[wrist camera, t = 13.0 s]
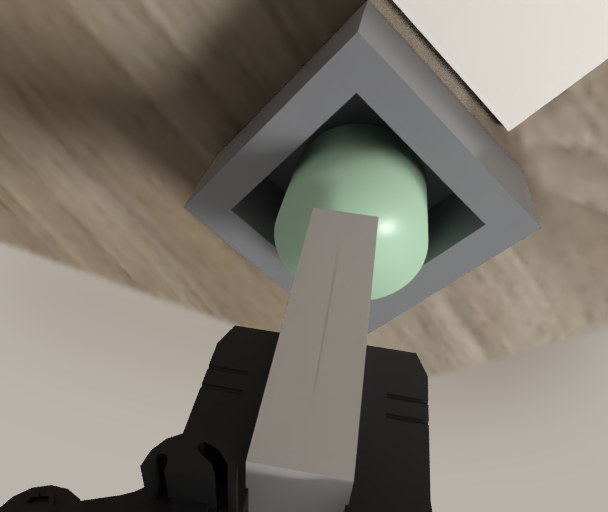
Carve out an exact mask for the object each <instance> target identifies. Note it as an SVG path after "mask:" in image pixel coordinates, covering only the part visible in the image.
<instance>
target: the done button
mask: <svg viewBox="0 0 608 512" xmlns="http://www.w3.org/2000/svg"><path fill="white" fill-rule="evenodd" d="M313 208H320V209H327V210H334V211H341V212H348V213H355V214H362V215H369V216H376V217H378V228H377V239H376V249H375V260H374V271H373V281H372V292H371V300H374V299H378V298H382V297H385V296H388V295H390V294H392V293H394V292H396V291H398V290H400V289H401V288H403V287H404V286H405V285H407V284H408V283H409V282H410V281H411V280H412V279H413V278H414V277H415V276H416V275H417V273H418V272H419V271H420V269H421V267H422V265H423V263H424V261H425V258H426V255H427V250H428V210H427V179H426V173H425V169H424V166H423V163H422V161H421V159H420V157H419V156H418V155H417V154H416V153H415V152H414V151H413V150H412V149H411V148H410V147H409V146H408V145H407V144H406V143H405V142H404V141H403V140H402V139H401V138H400V137H399V136H398V135H397V134H395V133H394V132H392V131H390V130H387V129H385V128H382V127H379V126H374V125H370V124H348V125H342V126H338V127H335V128H332V129H330V130H328V131H325V132H324V133H322V134H320V135H319V136H317V137H316V138H315V139H314V140H312V141H311V142H310V143H309V144H308V145H307V146H306V148H305V149H304V151H303V152H302V153H301V155H300V157H299V159H298V162H297V164H296V167H295V170H294V172H293V175H292V178H291V180H290V183H289V186H288V189H287V191H286V194H285V197H284V199H283V202H282V205H281V207H280V210H279V213H278V216H277V219H276V222H275V228H274V239H275V246H276V249H277V252H278V255H279V257H280V259H281V261H282V263H283V264H284V266H285V267H286V269H287V270H288V271H289V272H290V274H291V275H292V276H293V277H294V278H295V275H296V271H297V267H298V263H299V260H300V256H301V252H302V248H303V245H304V241H305V237H306V233H307V230H308V226H309V222H310V218H311V214H312V211H313Z"/></svg>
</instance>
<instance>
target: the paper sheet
mask: <svg viewBox="0 0 608 512" xmlns="http://www.w3.org/2000/svg"><path fill="white" fill-rule="evenodd" d="M393 1H394V2H395V4H396V5H397V6H398V7H399V8H400V9H401V10H402V12H403V13H404V14H405V15H406V16H407V17H408V18H409V19H410V21H411V22H412V23H413V24H414V25H415V26H416V27H417V28H418V30H419V31H420V32H421V33H422V34H423V35H424V36H425V37H426V39H427V40H428V41H429V42H430V43H431V44H432V45H433V47H434V48H435V49H436V50H437V51H438V52H439V53H440V54H441V56H442V57H443V58H444V59H445V60H446V61H447V62H448V63H449V65H450V66H451V67H452V68H453V69H454V70H455V71H456V72H457V74H458V75H459V76H460V77H461V78H462V79H463V80H464V81H465V83H466V84H467V85H468V86H469V87H470V88H471V89H472V91H473V92H474V93H475V94H476V95H477V96H478V97H479V98H480V100H481V101H482V102H483V103H484V104H485V105H486V106H487V107H488V109H489V110H490V111H491V112H492V113H493V114H494V115H495V116H496V118H497V119H498V120H499V121H500V122H501V123H502V124H503V126H504V127H505V128H506V129H507V130H508V131H510V130H511V129H513V128H514V127H515V126H517V125H518V124H520V123H521V122H522V121H524V120H525V119H526V118H528V117H529V116H530V115H532V114H533V113H534V112H536V111H537V110H539V109H540V108H541V107H543V106H544V105H545V104H547V103H548V102H549V101H551V100H552V99H553V98H555V97H556V96H557V95H559V94H560V93H562V92H563V91H564V90H566V89H567V88H568V87H570V86H571V85H572V84H574V83H575V82H576V81H578V80H579V79H581V78H582V77H583V76H585V75H586V74H587V73H589V72H590V71H591V70H593V69H594V68H595V67H597V66H598V65H599V64H601V63H602V62H604V61H605V60H606V59H608V0H393Z"/></svg>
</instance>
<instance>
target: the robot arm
mask: <svg viewBox="0 0 608 512" xmlns="http://www.w3.org/2000/svg"><path fill="white" fill-rule="evenodd" d="M377 228H378V217H376V216H369V215H362V214H355V213H348V212H341V211H334V210H327V209H320V208H313V211H312V214H311V218H310V222H309V226H308V230H307V233H306V237H305V241H304V245H303V248H302V252H301V256H300V260H299V263H298V267H297V271H296V275H295V278H294V282H293V286H292V290H291V293H290V297H289V301H288V305H287V309H286V312H285V316H284V320H283V324H282V327H281V331H280V333H278V332H272V331H265V330H259V329H253V328H247V327H241V326H234V327H233V328H232V329H231V330H230V331H229V332H228V333H227V334H226V335H225V336H224V337H223V338H222V339H221V340H220V341H219V342H218V343H217V346H216V348H215V351H214V353H213V356H212V359H211V361H210V364H209V369H208V370H207V372H206V374H205V377H204V380H203V382H202V387H201V388H200V390H199V393H198V396H197V398H196V401H195V403H194V406H193V409H192V412H191V414H190V416H189V419H188V422H187V424H186V427H185V430H184V432H183V434H180V435H177V436H174V437H171V438H168V439H166V440H164V441H163V442H162V443H160V444H159V445H158V446H156V447H155V448H154V449H152V450H151V451H150V453H149V454H148V456H147V457H146V459H145V460H144V462H143V463H142V465H141V472H142V477H143V482H144V488H142V489H140V490H138V491H135V492H132V493H128V494H124V495H120V496H113V497H105V498H98V499H91V500H84V501H80V499H79V498H78V497H77V496H75V495H74V494H73V493H72V492H71V491H69V490H68V489H65V488H60V487H57V486H53V485H50V486H42V487H34V488H31V489H28V490H26V491H24V492H22V493H20V494H18V495H16V496H14V497H12V498H11V499H10V500H8V501H7V502H6V503H5V504H4V505H3V506H1V507H0V512H432V508H431V501H430V465H429V464H430V461H429V425H428V421H429V419H428V418H429V417H428V376H427V374H426V372H425V370H424V368H423V366H422V364H421V362H420V360H419V358H418V356H417V354H416V353H411V352H405V351H399V350H393V349H386V348H380V347H374V346H368V345H367V335H368V324H369V314H370V303H371V292H372V281H373V271H374V260H375V249H376V239H377Z"/></svg>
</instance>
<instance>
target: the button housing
mask: <svg viewBox="0 0 608 512" xmlns="http://www.w3.org/2000/svg"><path fill="white" fill-rule="evenodd" d="M348 124H370V125H374V126H379V127H382V128H385V129H387V130H390V131H392V132H394V133H395V134H397V135H398V136H399V137H400V138H401V139H402V140H403V141H404V142H405V143H406V144H407V145H408V146H409V147H410V148H411V149H412V150H413V151H414V152H415V153H416V154H417V155H418V156H419V157H420V159H421V161H422V163H423V166H424V169H425V173H426V179H427V210H428V250H427V255H426V258H425V261H424V263H423V265H422V267H421V269H420V271H419V272H418V273H417V275H416V276H415V277H414V278H413V279H412V280H411V281H410V282H409V283H408V284H407V285H405V286H404V287H403V288H401V289H400V290H398V291H396V292H394V293H392V294H390V295H388V296H385V297H382V298H378V299H374V300H371V303H370V314H369V324H368V334H369V333H370V332H372V331H373V330H375V329H377V328H378V327H380V326H382V325H383V324H385V323H387V322H388V321H390V320H391V319H393V318H395V317H396V316H398V315H400V314H401V313H403V312H404V311H406V310H408V309H409V308H411V307H413V306H414V305H416V304H418V303H419V302H421V301H422V300H424V299H426V298H427V297H429V296H431V295H432V294H434V293H435V292H437V291H439V290H440V289H442V288H444V287H445V286H447V285H448V284H450V283H452V282H453V281H455V280H457V279H458V278H460V277H462V276H463V275H465V274H466V273H468V272H470V271H471V270H473V269H475V268H476V267H478V266H479V265H481V264H483V263H484V262H486V261H488V260H489V259H491V258H492V257H494V256H496V255H497V254H499V253H501V252H502V251H504V250H506V249H507V248H509V247H510V246H512V245H514V244H515V243H517V242H519V241H520V240H522V239H523V238H525V237H527V236H528V235H530V234H532V233H533V232H535V231H536V230H538V229H540V228H541V227H540V223H539V220H538V217H537V214H536V211H535V207H534V204H533V201H532V198H531V195H530V191H529V188H528V185H527V182H526V179H525V176H524V172H523V170H522V169H521V168H520V167H519V166H518V165H517V164H516V163H515V162H514V160H513V159H512V158H511V157H510V156H509V155H508V154H507V153H506V152H505V150H504V149H503V148H502V147H501V146H500V145H499V144H498V143H497V142H496V140H495V139H494V138H493V137H492V136H491V135H490V134H489V133H488V132H487V131H486V129H485V128H484V127H483V126H482V125H481V124H480V123H479V122H478V121H477V119H476V118H475V117H474V116H473V115H472V114H471V113H470V112H469V111H468V109H467V108H466V107H465V106H464V105H463V104H462V103H461V102H460V101H459V100H458V98H457V97H456V96H455V95H454V94H453V93H452V92H451V91H450V90H449V88H448V87H447V86H446V85H445V84H444V83H443V82H442V81H441V80H440V78H439V77H438V76H437V75H436V74H435V73H434V72H433V71H432V70H431V69H430V67H429V66H428V65H427V64H426V63H425V62H424V61H423V60H422V59H421V57H420V56H419V55H418V54H417V53H416V52H415V51H414V50H413V49H412V47H411V46H410V45H409V44H408V43H407V42H406V41H405V40H404V39H403V38H402V36H401V35H400V34H399V33H398V32H397V31H396V30H395V29H394V28H393V26H392V25H391V24H390V23H389V22H388V21H387V20H386V19H385V18H384V17H383V15H382V14H381V13H380V12H379V11H378V10H377V9H376V8H375V7H374V5H373V4H372V3H371V2H370V1H369V0H367V1H366V2H365V3H364V4H363V5H362V6H361V7H360V8H359V9H358V10H357V11H356V12H355V13H354V14H353V15H352V16H351V17H350V18H349V19H348V20H347V21H346V22H345V23H344V24H343V25H342V26H341V28H340V29H339V30H338V31H337V32H336V33H335V34H334V35H333V36H332V37H331V38H330V39H329V40H328V41H327V42H326V43H325V44H324V45H323V46H322V47H321V48H320V49H319V50H318V51H317V52H316V53H315V54H314V56H313V57H312V58H311V59H310V60H309V61H308V62H307V63H306V64H305V65H304V66H303V67H302V68H301V69H300V70H299V71H298V72H297V73H296V74H295V75H294V76H293V77H292V78H291V79H290V80H289V81H288V82H287V84H286V85H285V86H284V87H283V88H282V89H281V90H280V91H279V92H278V93H277V94H276V95H275V96H274V97H273V98H272V99H271V100H270V101H269V102H268V103H267V104H266V105H265V106H264V107H263V108H262V109H261V110H260V112H259V113H258V114H257V115H256V116H255V117H254V118H253V119H252V120H251V121H250V122H249V123H248V124H247V125H246V126H245V127H244V128H243V129H242V130H241V131H240V132H239V133H238V134H237V135H236V136H235V137H234V138H233V140H232V141H231V142H230V143H229V144H228V145H227V146H226V147H225V148H224V149H223V150H222V151H221V152H220V153H219V154H218V155H217V156H216V157H215V158H214V160H213V162H212V163H211V165H210V166H209V168H208V170H207V171H206V173H205V174H204V176H203V177H202V179H201V181H200V182H199V184H198V185H197V187H196V189H195V190H194V192H193V193H192V195H191V196H190V198H189V200H188V201H187V203H186V204H185V206H184V208H185V209H186V210H188V211H189V212H190V213H191V214H192V215H194V216H195V217H196V218H197V219H199V220H200V221H201V222H202V223H203V224H205V225H206V226H207V227H208V228H210V229H211V230H212V231H213V232H214V233H216V234H217V235H218V236H219V237H221V238H222V239H223V240H224V241H225V242H227V243H228V244H229V245H230V246H232V247H233V248H234V249H235V250H237V251H238V252H239V253H240V254H241V255H243V256H244V257H245V258H246V259H248V260H249V261H250V262H251V263H252V264H254V265H255V266H256V267H257V268H259V269H260V270H261V271H262V272H263V273H265V274H266V275H267V276H268V277H270V278H271V279H272V280H273V281H274V282H276V283H277V284H278V285H279V286H281V287H282V288H283V289H284V290H285V291H287V292H288V293H289V294H290V293H291V290H292V286H293V282H294V277H293V276H292V275H291V274H290V272H289V271H288V270H287V269H286V267H285V266H284V264H283V263H282V261H281V259H280V257H279V255H278V252H277V249H276V246H275V239H274V228H275V222H276V219H277V216H278V213H279V210H280V207H281V205H282V202H283V199H284V197H285V194H286V191H287V189H288V186H289V183H290V180H291V178H292V175H293V172H294V170H295V167H296V164H297V162H298V159H299V157H300V155H301V153H302V152H303V151H304V149H305V148H306V146H307V145H308V144H309V143H310V142H311V141H312V140H314V139H315V138H316V137H317V136H319V135H320V134H322V133H324V132H325V131H328V130H330V129H332V128H335V127H338V126H342V125H348Z"/></svg>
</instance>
